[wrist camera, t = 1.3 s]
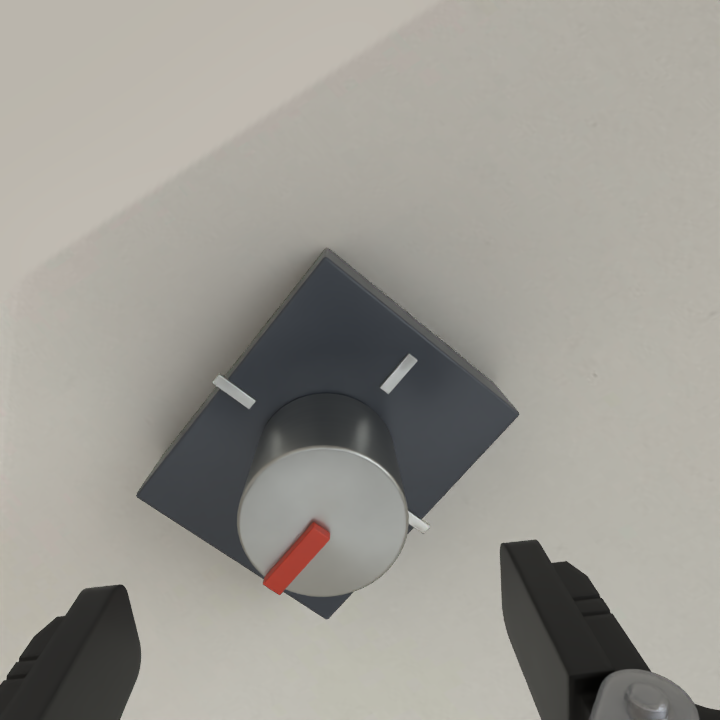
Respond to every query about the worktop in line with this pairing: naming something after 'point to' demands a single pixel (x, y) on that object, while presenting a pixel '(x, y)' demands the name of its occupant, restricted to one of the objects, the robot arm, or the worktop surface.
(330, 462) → the dial
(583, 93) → the worktop surface
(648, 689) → the robot arm
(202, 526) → the control panel
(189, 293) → the worktop surface
